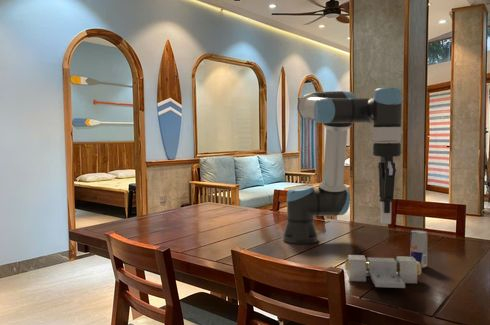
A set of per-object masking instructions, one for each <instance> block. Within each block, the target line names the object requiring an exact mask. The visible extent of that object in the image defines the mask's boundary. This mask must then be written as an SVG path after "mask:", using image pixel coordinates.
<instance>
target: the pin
mask: <svg viewBox="0 0 490 325" xmlns="http://www.w3.org/2000/svg"><path fill="white" fill-rule="evenodd" d="M344 267H345V268H344V269H345V271H347V270H349V261H348V260H346V261H345V263H344ZM396 268H397V272H400V263H397V262H396ZM366 271H369V262H367V261H366ZM417 275H422V268H421V263H420V262H417Z"/></svg>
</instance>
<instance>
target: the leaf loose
mask: <svg viewBox="0 0 490 325" xmlns="http://www.w3.org/2000/svg"><path fill="white" fill-rule="evenodd" d="M366 262H369V271H367V272H368V274H369V276H368V277H370V279H371V282H372V283H373V284H374V287H375V288H395V289H397V288H398V289H406V283H404V282H403V281H402V279H401V278H400V277H399V276H398V274H397V268H396V263H397V260H396V259H395V258H394V257H366Z"/></svg>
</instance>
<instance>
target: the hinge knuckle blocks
mask: <svg viewBox="0 0 490 325" xmlns="http://www.w3.org/2000/svg"><path fill="white" fill-rule="evenodd" d="M347 261H349V270H346V273H347V276H348V280H349V282H367V277H370V276H369V274H368V272H367V271H366V262H367V257H365V255H364V254H363V255H362V254H361V255H360V254H348V255H347ZM396 263H400V272H397V274H398V276H399V277H400V278H401V279H402V281H403V282H404V283H405V284H418V274H417V261H416V259H415V258H414V257H410V256H399V255H398V256H397V255H396Z"/></svg>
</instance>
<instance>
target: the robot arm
mask: <svg viewBox="0 0 490 325" xmlns="http://www.w3.org/2000/svg"><path fill="white" fill-rule="evenodd" d="M402 103H403V99H402V90H401V88H400V87H379V88H376V89H374V91H373V97H369V98H368V97H366V98H365V97H362V98H359V97H356V96H355V94H354V93H353V92H351V91H343V90H342V91H341V90H340V91H339V90H338V91H334V90H333V91H313V92H309V93H306V94H305V95H303V96H302V97H300V99H299V100H298V102H297V112H298V114H299V115H300V117H302V118H304V119H306V120H310V121H315V122H316V123H317V124H322V125H323V126H324V127H325V130H326V131H325V146H324V160H323V173H322V174H323V175H322V181H321V182H320V183H319V184H318V188H317V189H315V188H314V186H312V185H306V186H305V185H303V186H296V187H293V188H292V187H291V188H289V190H288V191H287V192H286V225H285V228H284V232H283V235H282V240H283V241H284V242H286V243H288V244H294V245H310V244H315V243H317V242H318V241H319V234H318V231H317V228H316V226H315V221H314V220H315V217H326V216H327V217H331V216H334V217H337V216H343V215H345V214H347V213H348V211H349V208H350V205H351V194H350V193H351V192H350V191H349V190H348V188H347V186H346V184H345V183H344V177H345V162H346V152H347V141H348V129H349V128H351V127H352V125H353V123H355V124H356V123H357V124H358V123H359V124H360V123H361V124H362V123H364V124H365V123H366V124H373V127H372V130H373V131H372V140H373V142H374V143H373V144H372V150H373V151H372V155H373V156H374V157H380V161H379V162H378V165H377V168H378V185H379V186H378V187H379V188H378V190H379V198H380V199H379V202H380V224H381V225H384V224H385V225H392V202H393V201H394V194H395V177H396V172H397V169H396V163H395V162H394V157H400V156H401V154H402V152H401V151H402V144H401V143H400V142H401V140H402V139H401V138H402V134H403V133H404V131H403V130H402V105H403V104H402Z"/></svg>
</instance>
